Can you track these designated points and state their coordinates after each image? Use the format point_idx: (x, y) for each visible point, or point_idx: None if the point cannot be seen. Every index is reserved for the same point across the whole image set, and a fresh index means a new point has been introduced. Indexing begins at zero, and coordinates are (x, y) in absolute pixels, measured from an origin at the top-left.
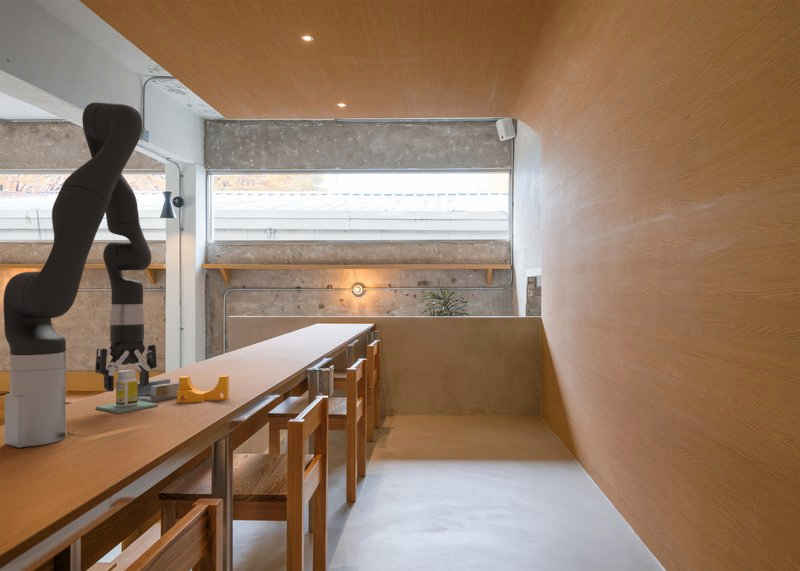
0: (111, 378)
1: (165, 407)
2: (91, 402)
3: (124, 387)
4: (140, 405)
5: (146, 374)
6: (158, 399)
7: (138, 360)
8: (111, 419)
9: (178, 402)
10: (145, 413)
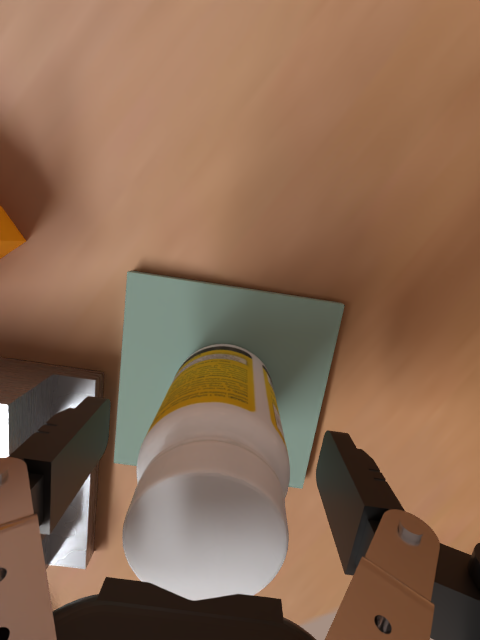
0: (376, 492)
1: (131, 207)
2: None
3: (269, 409)
4: (199, 319)
5: (45, 444)
6: (45, 369)
7: (48, 603)
8: (457, 210)
9: (18, 233)
10: (289, 172)
